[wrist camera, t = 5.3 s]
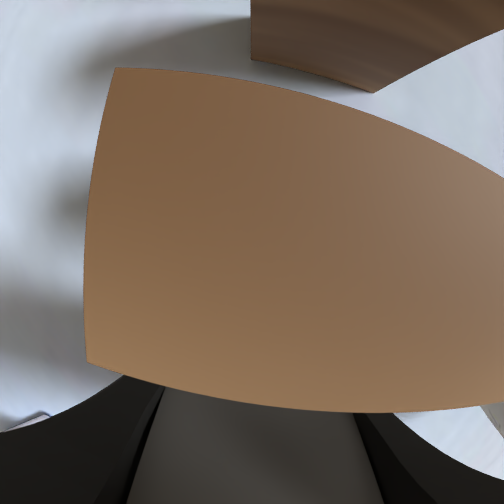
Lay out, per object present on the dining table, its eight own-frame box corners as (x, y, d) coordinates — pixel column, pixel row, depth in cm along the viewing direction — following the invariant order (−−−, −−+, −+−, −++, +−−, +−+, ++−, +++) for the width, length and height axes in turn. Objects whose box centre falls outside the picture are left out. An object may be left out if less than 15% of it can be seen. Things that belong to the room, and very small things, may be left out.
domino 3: (304, 369, 12) (350, 587, 3) (189, 349, 11) (125, 576, 3) (319, 327, 11) (402, 563, 2) (196, 304, 11) (110, 558, 2)
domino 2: (341, 235, 11) (522, 397, 2) (216, 206, 11) (85, 361, 2) (355, 182, 10) (587, 241, 2) (228, 150, 10) (115, 67, 1)
